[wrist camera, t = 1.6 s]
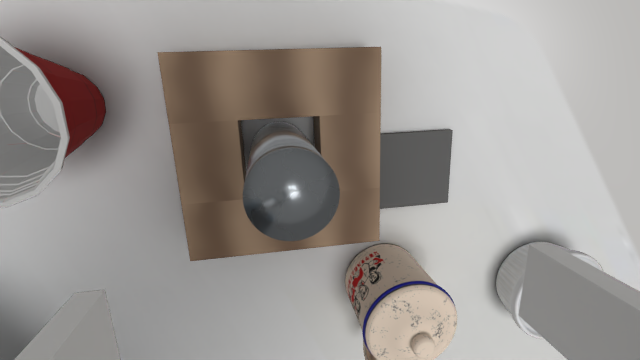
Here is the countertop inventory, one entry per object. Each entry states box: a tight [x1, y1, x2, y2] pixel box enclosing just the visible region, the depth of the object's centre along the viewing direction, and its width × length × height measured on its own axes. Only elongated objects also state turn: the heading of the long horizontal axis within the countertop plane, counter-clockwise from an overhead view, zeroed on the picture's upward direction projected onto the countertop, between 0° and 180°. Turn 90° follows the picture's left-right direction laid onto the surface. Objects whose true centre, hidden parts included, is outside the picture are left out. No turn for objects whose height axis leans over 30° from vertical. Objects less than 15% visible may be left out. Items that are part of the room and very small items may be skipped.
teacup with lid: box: [345, 244, 457, 360], centre depth 34 cm, size 12×9×12 cm
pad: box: [380, 129, 452, 209], centre depth 36 cm, size 8×8×1 cm
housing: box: [158, 47, 381, 261], centre depth 32 cm, size 18×18×4 cm
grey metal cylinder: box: [243, 122, 340, 241], centre depth 27 cm, size 6×6×15 cm
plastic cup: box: [0, 37, 106, 208], centre depth 24 cm, size 11×11×12 cm
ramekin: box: [496, 242, 604, 339], centre depth 41 cm, size 11×11×5 cm
